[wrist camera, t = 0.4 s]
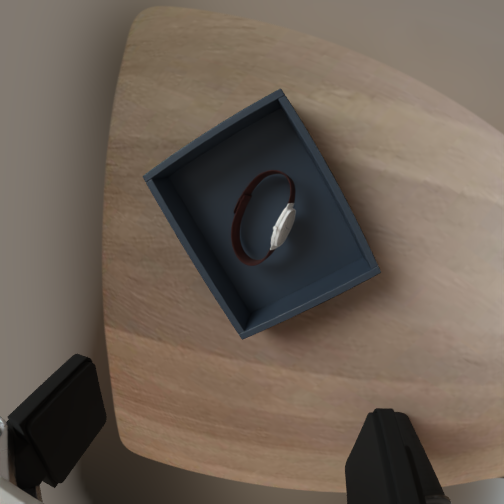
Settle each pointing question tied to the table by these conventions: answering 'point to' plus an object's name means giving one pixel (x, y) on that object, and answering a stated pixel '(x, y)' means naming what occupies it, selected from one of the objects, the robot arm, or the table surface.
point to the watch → (279, 229)
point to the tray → (262, 216)
